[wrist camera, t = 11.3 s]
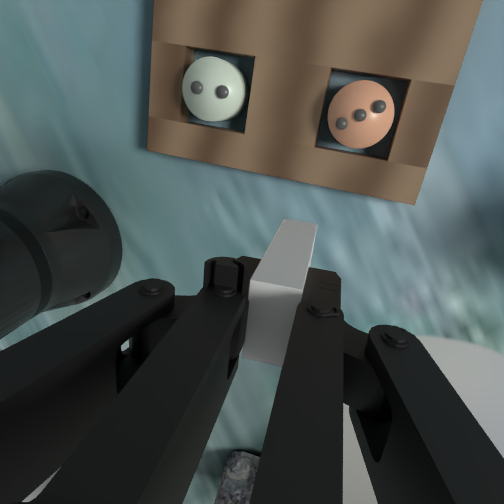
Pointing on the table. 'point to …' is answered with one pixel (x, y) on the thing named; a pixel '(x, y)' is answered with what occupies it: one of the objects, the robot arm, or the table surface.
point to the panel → (311, 83)
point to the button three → (361, 114)
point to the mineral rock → (237, 479)
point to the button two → (214, 89)
